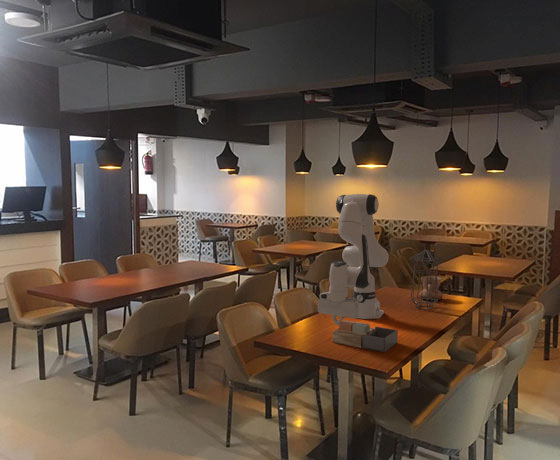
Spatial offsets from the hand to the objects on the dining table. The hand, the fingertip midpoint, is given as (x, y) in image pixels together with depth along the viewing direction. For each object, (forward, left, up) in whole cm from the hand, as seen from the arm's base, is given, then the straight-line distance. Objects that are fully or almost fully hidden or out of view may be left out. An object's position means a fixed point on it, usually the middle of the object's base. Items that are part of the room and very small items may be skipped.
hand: (337, 324), depth 231 cm
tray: (0, +21, -6) cm, 22 cm away
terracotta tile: (0, +5, -1) cm, 5 cm away
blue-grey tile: (0, +12, -1) cm, 12 cm away
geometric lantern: (-84, +16, -6) cm, 86 cm away
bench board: (0, +8, -6) cm, 10 cm away
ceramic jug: (-108, +13, -6) cm, 109 cm away
